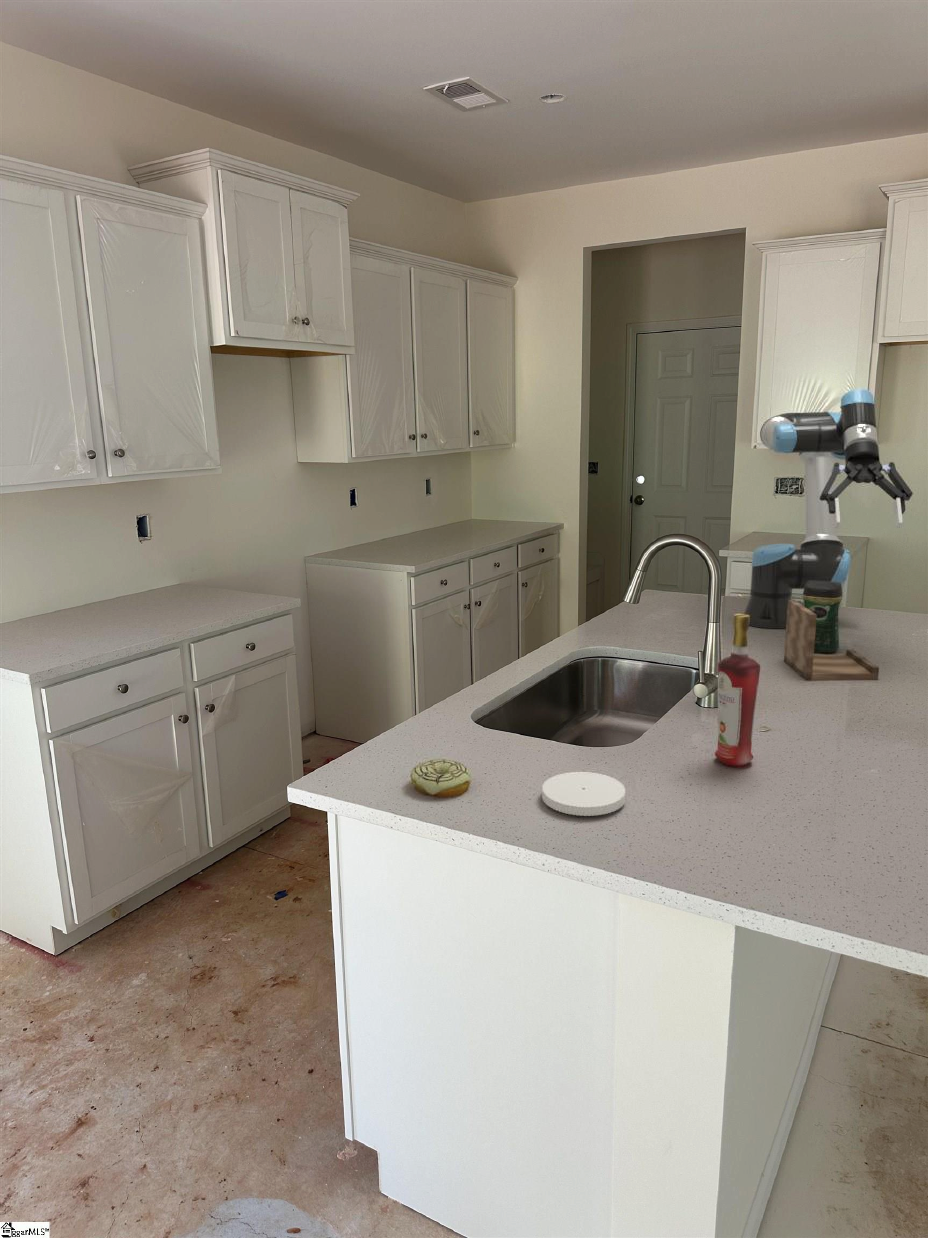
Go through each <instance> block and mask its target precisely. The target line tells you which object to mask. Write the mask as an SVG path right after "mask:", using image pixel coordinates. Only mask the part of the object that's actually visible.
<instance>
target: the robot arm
mask: <svg viewBox="0 0 928 1238" xmlns="http://www.w3.org/2000/svg"><path fill="white" fill-rule="evenodd" d="M873 395H874V394H873V393H872V392H871V391H869V390H868V389H865V388H861V389H858V388H857V389H852V390H849V391H847V392H846V393H845V394H843V395H842V396H841V399H840V411H841V412H837V411H835V412H833V411H832V412H830V411H823V412H822V411H821V412H820V411H819V412H817V411H816V412H785V413H780V414H778V415H775V416H772V417H770V418H768V419H767V420H766V421H765V422H764V423H763V424H762V425H761V427H760V432H759V438H760V441H761V442H762V445H764V446H765V447H766V448H768V449H770V450H773V451H774V452H776V453H777V454H778V453H781V454H782V453H783V454H790V453H791V454H792V453H793V454H799V456H798V458H799V460H800V461H802V462H803V463H804V493H805V495H804V496H805V498H804V500H805V501H804V503H805V505H804V506H805V509H804V511H805V539H804V540H803V541H802V542H801V543H800V548H799V549H798V548H797V549H796V546H795V545H794V544H793V543H774V544H768V545H767V544H766V545H762V546H758V547H757V548H755V549H754V550H753V553H752V560H751V562H750V563H751V576H750V577H751V579H750V594H749V595H750V596H749V599H748V601H747V604H746V606H745V609H744V611H743V613H742V614H747V615H749V616H750V618H749V626H751V627H755V628H763V629H786V623H787V608H788V600H793V597H792V594H793V589H794V590H804V587H805V584H806V583H807V582H808V581H810V580H816V581H830V582H839V583H841V585H842V587H843V586H844V585H845V584H846V582H847V578H848V575H849V571H850V565H851V554H850V553H851V552H850V550H848V549H846V548H844V543H843V541H842V540H840V538H838V528H839V525H840V524H841V513H840V501H839V499H840V498H839V496H840V495H841V494H842V493H843V491H845V490H846V488H847V487H849V486H850V485H851V484H852V483H853V482H854V483H856V484H861V483H862V484H863V483H865V484H870V483H873V484H874V485H875V486H878V487H879V488H880V489H881V490H883V492H885V493H886V494H887V495H888V496H890V497H891V498H892V499H893V500H894V502H893V504H892V505H893V515H894V523H895V528H896V529H900V528H901V526H902V524H903V523H904V522H903V515H904V513H905V511H906V502H907V501H910V499H911V498H912V497H913V490H911V488H910V487H909V486H908V484H907V483H906V482H905V479H904V478H903V477H902V476H901V475H900V473H899V472H898V471H897V469H896V464H895V463H894V462H893V461H891V462H889V463H888V464H882V463H881V460H880V451H879V441H878V439H879V438H878V432H877V431H878V430H877V420H876V409H875V406H876V404H875V400H874V396H873ZM838 460H841V461H843V460H844V462H845V465H844V464H840V463H839V462H837V461H838ZM882 471H883V472H884V474H885V475H887V476H888V478H889V480H890V481H889V480H888V479H887V478H886V477H885V475H884V474H883V473H882ZM842 472H844V473H845V474H846V475H847V476H846V477H845V478H844V479H843V480H842V481H841V482H840V484H838V485H837V477H838V475H840V474H841V473H842ZM905 501H906V502H905Z"/></svg>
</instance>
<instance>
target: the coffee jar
mask: <svg viewBox="0 0 928 1238" xmlns="http://www.w3.org/2000/svg"><path fill="white" fill-rule="evenodd" d="M802 599H803V604H804V605H803V606H804V607H806V608H807V609H809V610H810V611H812V612H813V613H815V614H816V615H817V618H816V631H815V644H814V653H835V652H837V651H838V650H839V648H840V632H839V631H840V630H839V612H840V611H839V610H840V609H839V608H840V604H841V602H842V600H843V586H842V585H841V583H839V582H830V581H816V580H810V581H808V582H807V583H806V584H805V587H804V589H803V593H802Z"/></svg>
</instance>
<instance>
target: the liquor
mask: <svg viewBox="0 0 928 1238" xmlns="http://www.w3.org/2000/svg"><path fill="white" fill-rule="evenodd" d="M749 618H750V616H749V615H747V614H743V613H735V614H733V631H734V632H733V639H732V645H731V652H730V655H729V656H726V657H724V658H723V659H721V660H720V661H718V662H717V710H718V711H717V749H716V750H715V752H714V756H715V757H716V759H718V760H719V761H720V762H721V763H722V764H723V765H725V766H727V767H731V768H739V767H744V766H746V765H748V764H749V763H750V762H751V761H753V759H754V755H753V753H752V746H753V737H754V736H753V734H754V724H755V717H756V708H757V707H756V706H757V699H758V693H759V684H760V683H759V681H760V674H761V673H760V672H761V665H760V663H758V662H757V661H756V660H755V659H753V658H751V657H749V652H748V651H749V649H748V647H749V646H748V643H749V642H748V630H749V627H750V625H749Z"/></svg>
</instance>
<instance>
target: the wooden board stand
mask: <svg viewBox="0 0 928 1238" xmlns="http://www.w3.org/2000/svg"><path fill="white" fill-rule="evenodd" d="M816 618H817V615H816V614H815V613H813V612H812V611H810V610H809V609H807V608H806V607H805V605H802V604H801V603H799V602H798V601H796V599H792V600H788V608H787V623H786V628H785V638H784V639H785V640H784V651H783V653H784V654H783V656H784V658H783V661H784V663H785V664H786V665H787V666H789V667H790V668H791V669H792V670H793V671H795V672H796V674H797V675H799V677H801V678H802V679H803V680H804V681H865V680H867V681H870V680H871V681H873V680H875V681H877V680H879V673H880V667H879V666H878V665H876V664H874V663H873V662H872V661H870V659H868V658H866V657H864V656H863V655H862V654H860V653H859V652H857V651H856V650H855V649H853V648H846V651H845V654H815V652H814V644H815V631H816Z"/></svg>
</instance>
